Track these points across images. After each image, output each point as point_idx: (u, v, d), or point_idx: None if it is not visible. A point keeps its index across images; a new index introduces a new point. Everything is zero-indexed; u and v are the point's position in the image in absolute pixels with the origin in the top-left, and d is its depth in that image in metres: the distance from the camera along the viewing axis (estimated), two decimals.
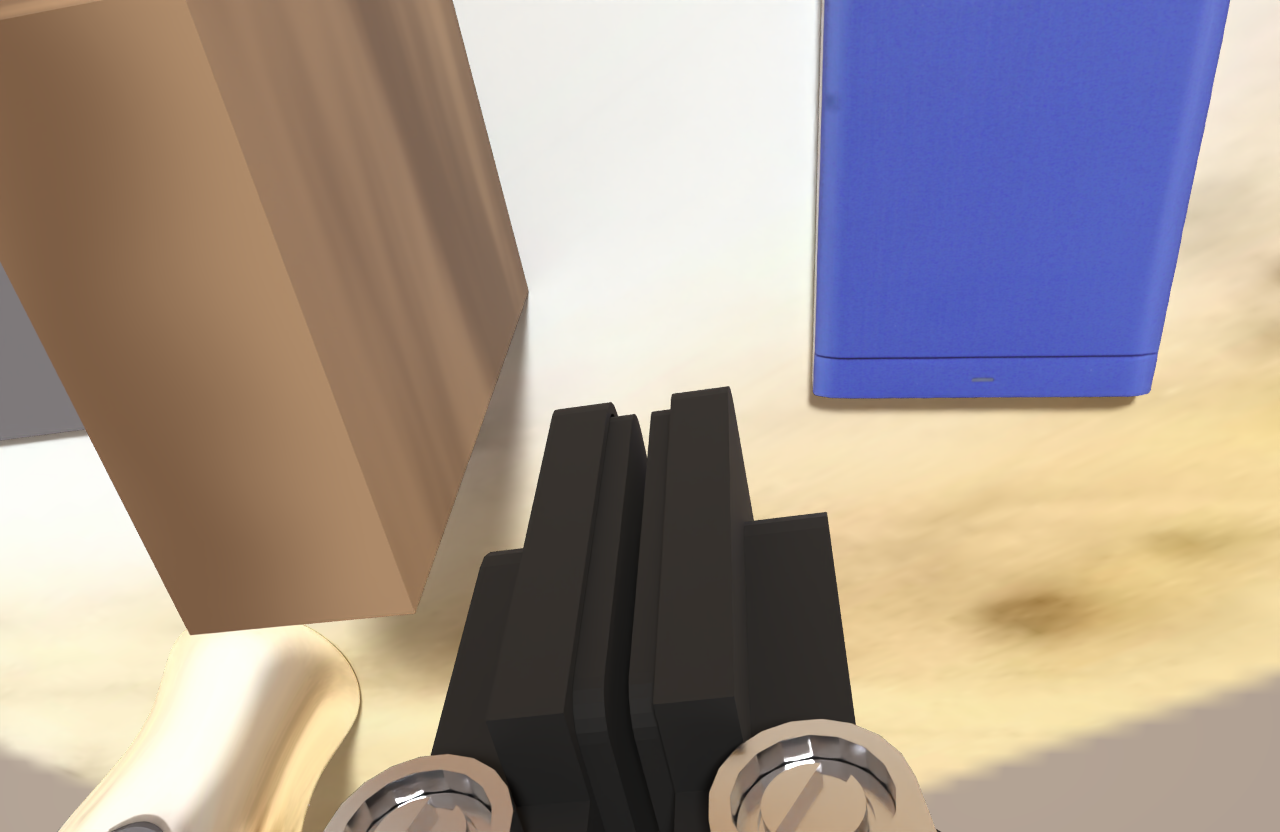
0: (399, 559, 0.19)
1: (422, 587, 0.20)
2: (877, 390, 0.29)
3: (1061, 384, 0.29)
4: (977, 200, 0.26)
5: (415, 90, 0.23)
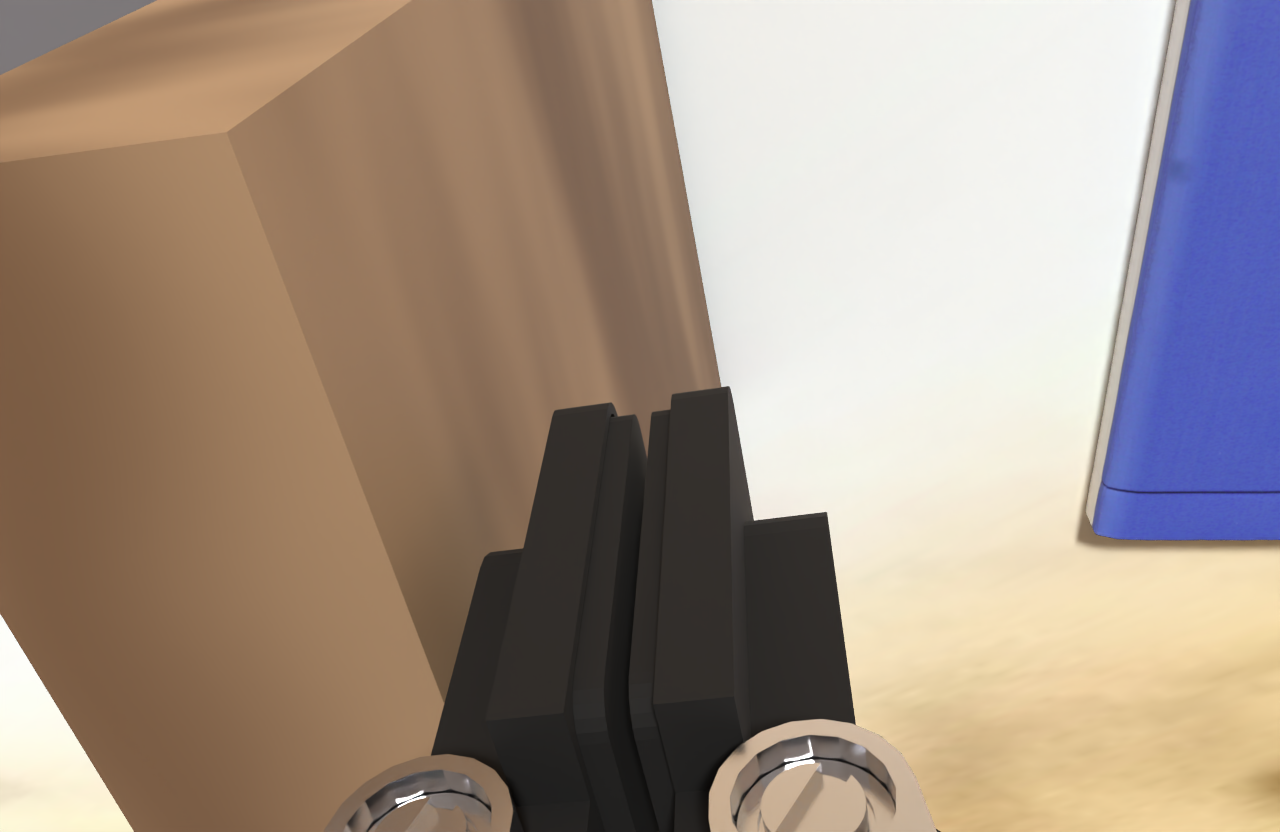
0: None
1: None
2: (1183, 531, 0.23)
3: None
4: None
5: (609, 194, 0.16)
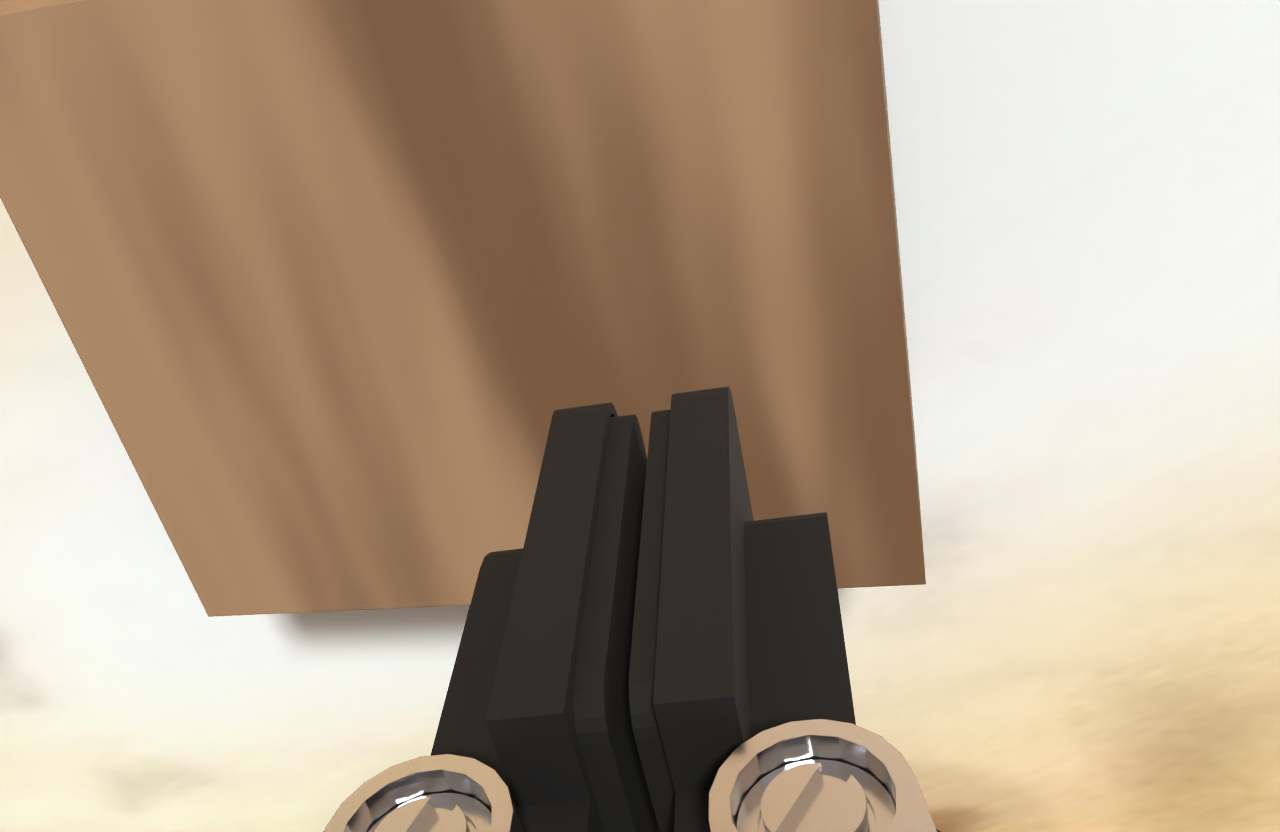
0: (193, 570, 0.20)
1: (238, 612, 0.20)
2: None
3: None
4: None
5: (551, 220, 0.15)
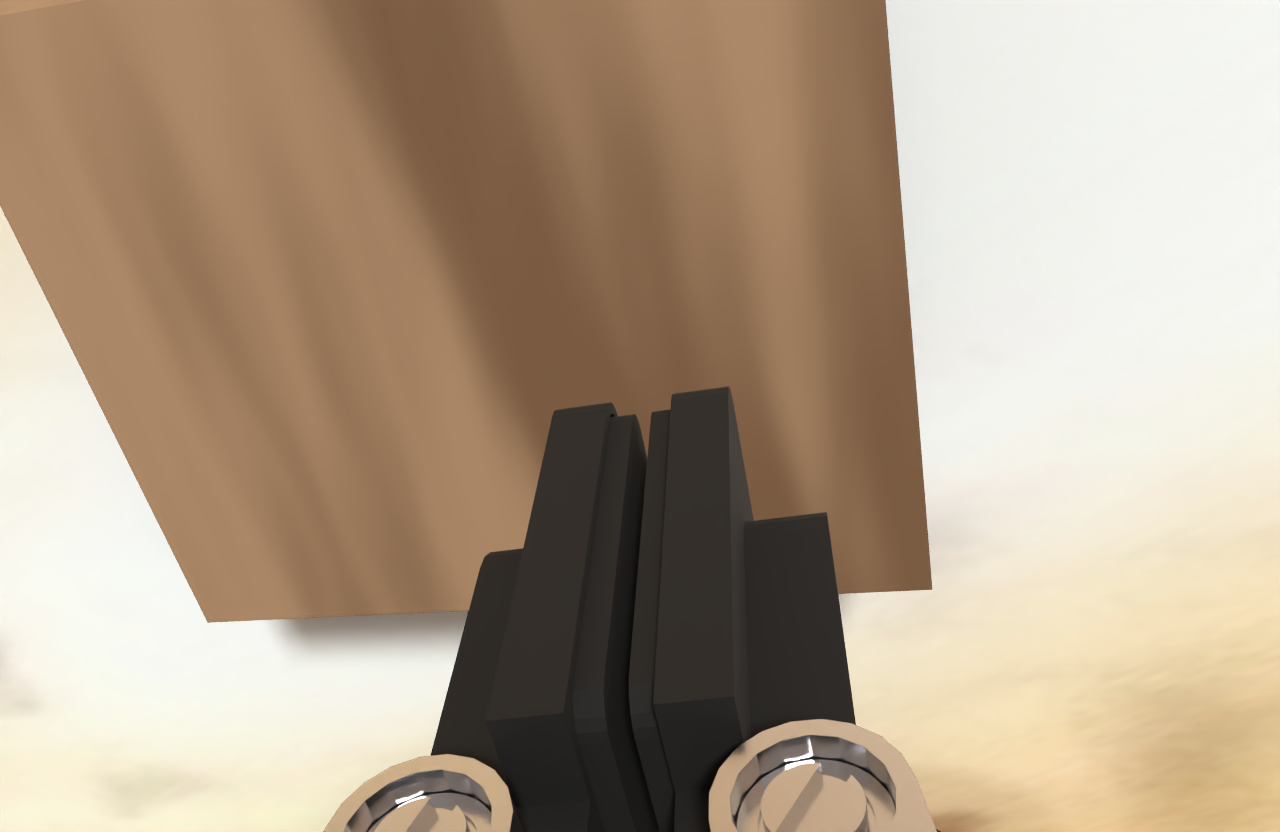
0: (192, 576, 0.20)
1: (238, 618, 0.20)
2: None
3: None
4: None
5: (556, 222, 0.15)
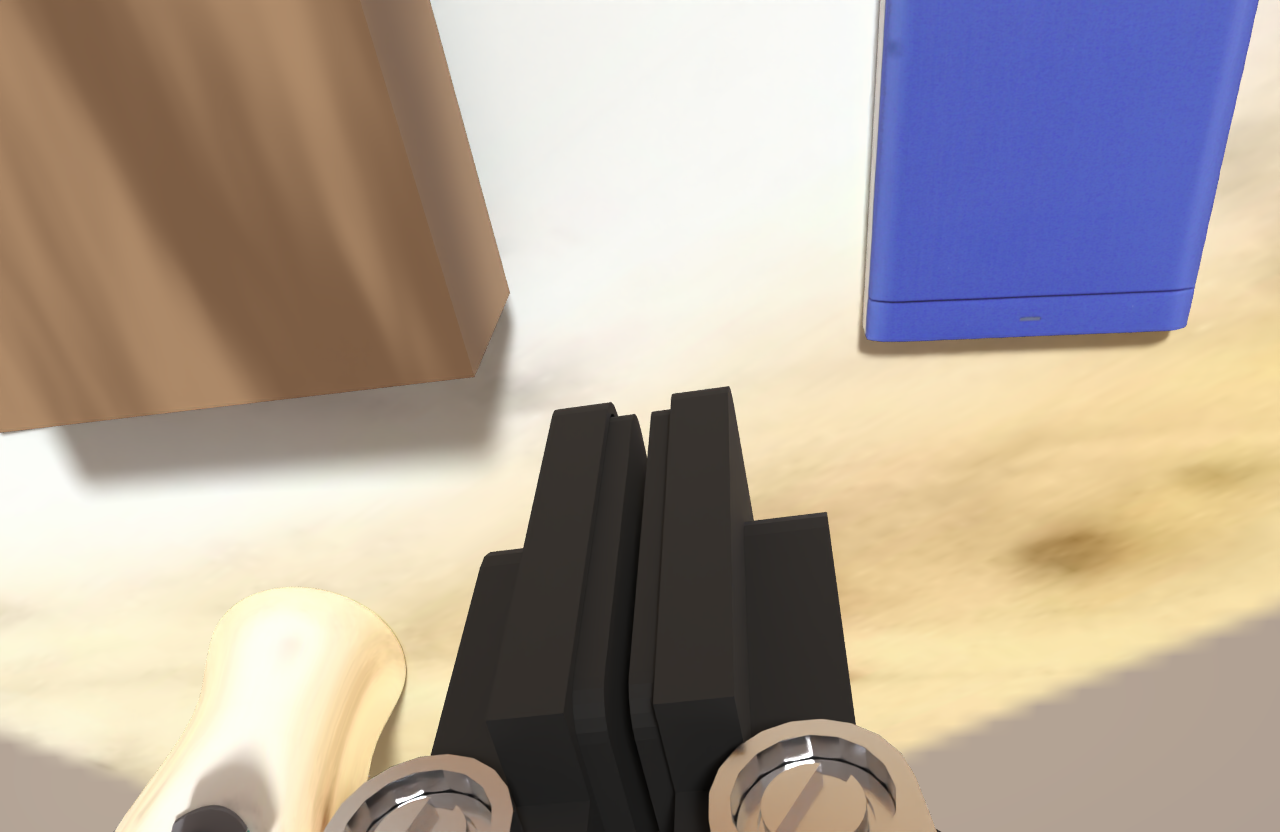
0: None
1: (6, 430, 0.28)
2: (929, 333, 0.30)
3: (1104, 321, 0.30)
4: (1031, 141, 0.27)
5: (177, 120, 0.23)
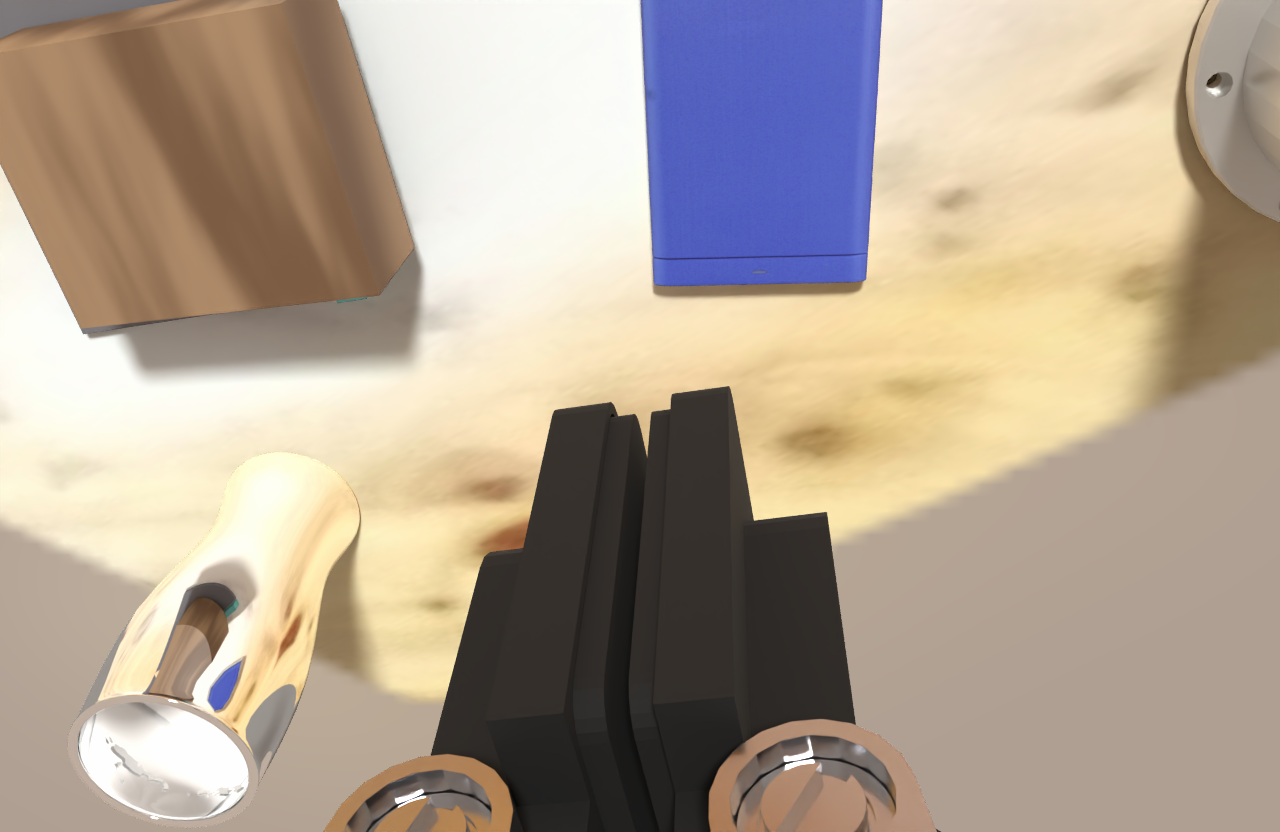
0: (72, 304, 0.43)
1: (94, 325, 0.44)
2: (693, 280, 0.45)
3: (808, 275, 0.45)
4: (743, 155, 0.43)
5: (200, 135, 0.39)
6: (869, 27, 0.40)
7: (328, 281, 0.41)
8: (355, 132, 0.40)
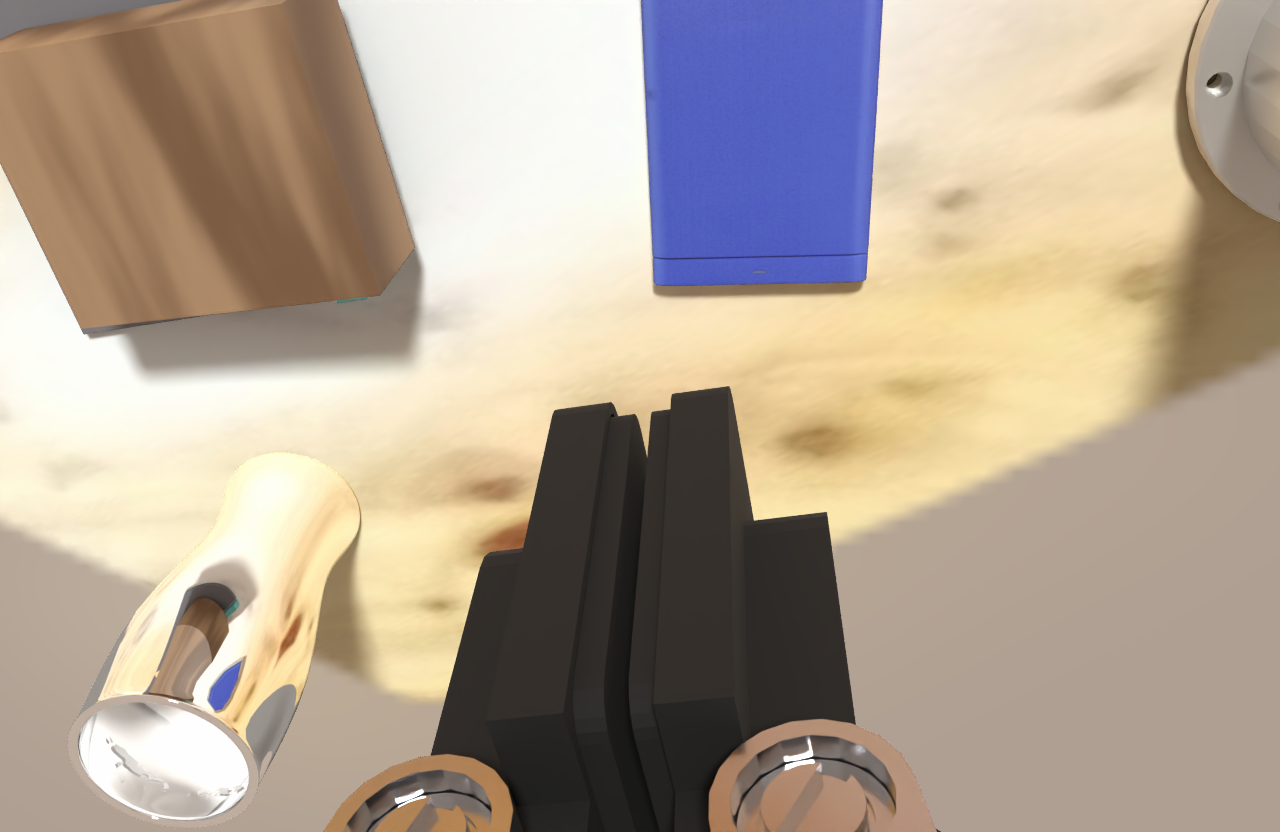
0: (73, 304, 0.43)
1: (95, 326, 0.44)
2: (693, 280, 0.45)
3: (808, 275, 0.45)
4: (743, 154, 0.43)
5: (200, 135, 0.39)
6: (869, 27, 0.40)
7: (328, 281, 0.41)
8: (355, 132, 0.40)
